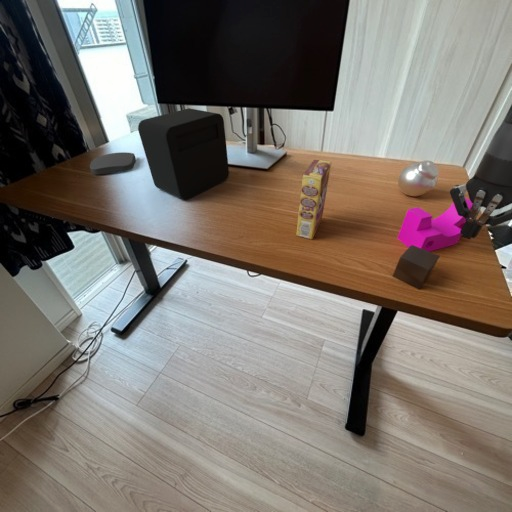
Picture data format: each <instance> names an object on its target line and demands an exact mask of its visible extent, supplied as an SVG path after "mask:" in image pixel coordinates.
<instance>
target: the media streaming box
mask: <svg viewBox="0 0 512 512" xmlns="http://www.w3.org/2000/svg"><path fill="white" fill-rule="evenodd" d="M136 161H137V158H136V155H135V153H132V152H126V151H125V152H121V151H120V152H113V153H107V154H103V155H101V156H98V157H95V158H93V159H92V160H91V162H90V164H89V170H90V172H91V174H92V175H108V174H116V173H123V172H128V171H131V170H133V169H134V168H135V166H136Z"/></svg>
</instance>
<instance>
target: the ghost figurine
mask: <svg viewBox="0 0 512 512" xmlns="http://www.w3.org/2000/svg"><path fill="white" fill-rule="evenodd" d="M439 173H440V172H439V169H438V166H437V165H436V163H434V161H433V160H427V159H426V160H422V161H419V162H415V163H412V164H409V165H407V166H406V167H404V168H403V169H402V171H400V173H399V175H398V178H397V184H398V185H397V186H398V188H399V190H400V192H402V193H403V194H405V195H406V196H410V197H419V196H422V195H424V194H426V193H427V192H429V191H433V190H434V189H435V187H436V186H437V185H436V184H437V182H438V176H439Z"/></svg>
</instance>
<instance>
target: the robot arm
mask: <svg viewBox="0 0 512 512" xmlns="http://www.w3.org/2000/svg"><path fill="white" fill-rule="evenodd" d="M466 194H468V199H469V200H470V201H471V202H472V203H473V204H472V207H471V209H470V210H469V207H468V205H467V202H466V200H465V198H466V197H465V195H466ZM449 195H450V198H451V201H452V204H453V203H454V205H455V208H456V210H457V213H458V215H459V216H463V217H464V218H465V219H466V222H465V224H464V225H463V227H462V229H461V231H460V234H462V235H461V238H463V239H467V240H469V241H470V240H471V239H475V238H476V237H477V236H478V235H479V233H480V232H481V230H482V228H483V226H488V225H489V226H490V227H496V226H498V225H501V224H504V223H507V222H509V221H512V207H511V208H510V209H508V210H505V211H503V212H500V213H498V214H494V215H492V214H493V212H494V211H498V210H500V209H501V210H502V209H503V208H505V207H508V206H510V205H512V103H511V104H510V106H509V108H508V109H507V111H506V114H505V116H504V117H503V120H502V122H501V123H500V125H499V127H498V128H497V129H496V131H495V132H494V134H493V136H492V138H491V140H490V141H489V144H488V145H487V148H486V149H485V152H484V154H483V156H482V158H481V160H480V161H479V164H478V165H477V169H476V170H475V172H474V174H473V176H472V177H471V178H469V179H468V180H467V182H466V183H464V184H461V185H460V184H455V185H454V186H452V188H451V189H450V190H449ZM482 208H484V210H483V212H482V213H481V215H480V216H479V214H480V212H481V209H482ZM477 217H478V219H477Z"/></svg>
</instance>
